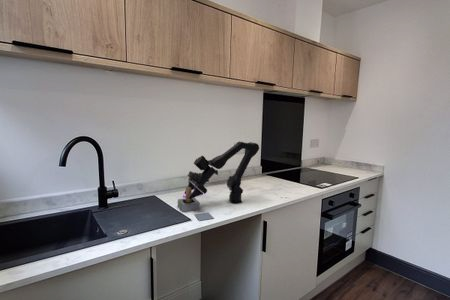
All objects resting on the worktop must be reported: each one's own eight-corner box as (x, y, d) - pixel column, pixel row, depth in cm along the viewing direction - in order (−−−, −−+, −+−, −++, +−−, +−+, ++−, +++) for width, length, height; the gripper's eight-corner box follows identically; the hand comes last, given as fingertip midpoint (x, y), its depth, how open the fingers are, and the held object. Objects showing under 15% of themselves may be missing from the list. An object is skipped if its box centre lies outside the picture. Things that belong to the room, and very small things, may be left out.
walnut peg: (191, 205, 141) (191, 186, 140) (193, 208, 137) (193, 188, 136) (183, 207, 140) (183, 186, 138) (185, 209, 135) (185, 189, 134)
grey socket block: (194, 203, 145) (194, 197, 144) (199, 209, 136) (199, 202, 135) (177, 205, 141) (177, 199, 140) (182, 212, 132) (182, 205, 131)
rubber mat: (208, 213, 132) (208, 212, 132) (213, 218, 125) (214, 218, 125) (194, 215, 129) (194, 214, 128) (199, 221, 121) (199, 220, 121)
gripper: (191, 163, 145) (173, 182, 142) (201, 169, 129) (181, 192, 126) (203, 175, 150) (186, 194, 147) (215, 183, 133) (195, 204, 130)
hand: (187, 196), depth 137 cm, fingers open, 9 cm apart
